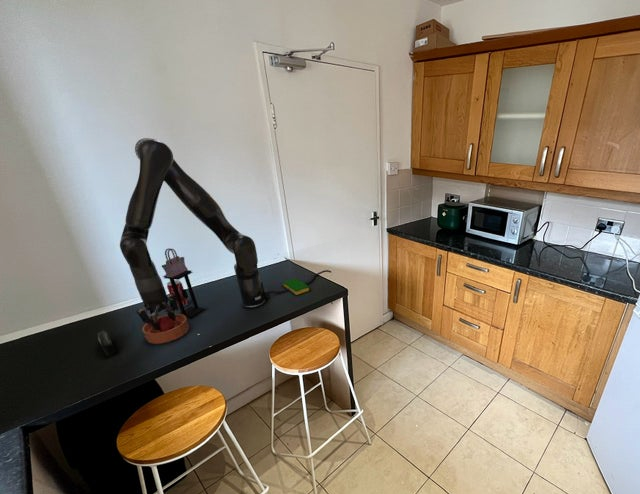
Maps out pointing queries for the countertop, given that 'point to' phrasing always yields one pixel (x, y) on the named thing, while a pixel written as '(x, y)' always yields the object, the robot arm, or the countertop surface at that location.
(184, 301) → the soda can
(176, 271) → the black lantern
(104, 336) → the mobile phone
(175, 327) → the bowl
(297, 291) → the dish sponge
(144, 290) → the robot arm
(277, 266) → the countertop surface
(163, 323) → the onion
